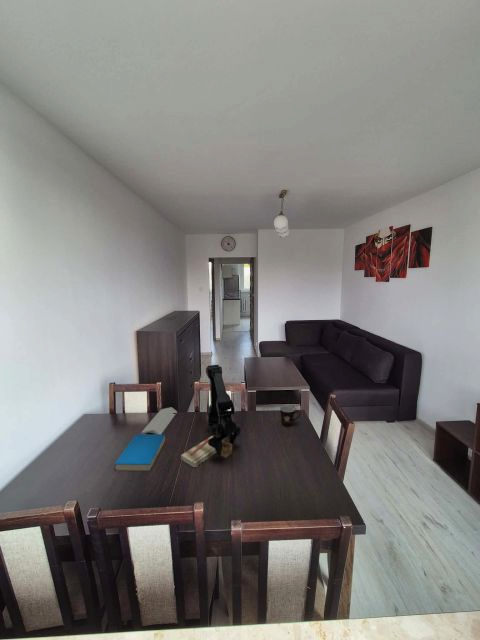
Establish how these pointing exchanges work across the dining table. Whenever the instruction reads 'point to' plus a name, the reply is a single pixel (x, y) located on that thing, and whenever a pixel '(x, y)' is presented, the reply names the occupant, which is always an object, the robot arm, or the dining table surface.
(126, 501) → the dining table surface
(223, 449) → the block
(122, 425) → the dining table surface
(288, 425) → the coffee mug
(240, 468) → the dining table surface
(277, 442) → the dining table surface
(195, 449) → the carpenter pencil
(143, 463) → the book
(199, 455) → the plank
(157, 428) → the crown molding
